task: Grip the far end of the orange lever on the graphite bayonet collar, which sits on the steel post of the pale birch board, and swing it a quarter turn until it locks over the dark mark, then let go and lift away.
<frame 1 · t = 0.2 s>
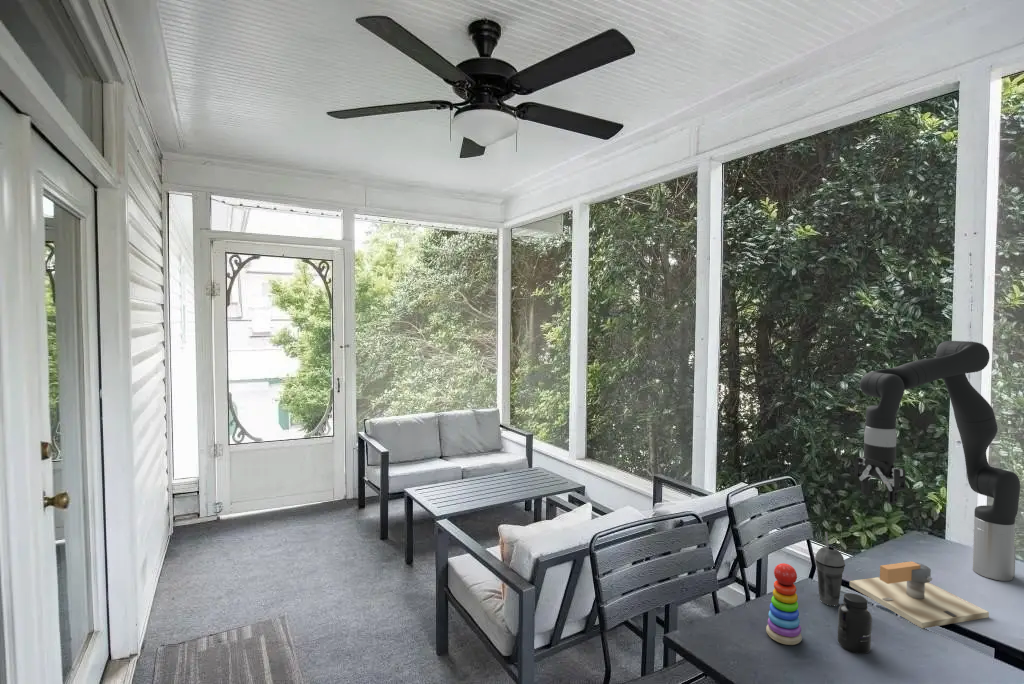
hand: (878, 498, 150), 28 cm above the table, fingers open, 8 cm apart
stacking toy: (783, 637, 131), on the table
supplement bottle: (853, 646, 127), on the table
orange lever handle: (904, 571, 146), point 9 cm above the table, hinge at 0.0°
post board: (915, 600, 147), on the table
beverage cup: (828, 602, 147), on the table
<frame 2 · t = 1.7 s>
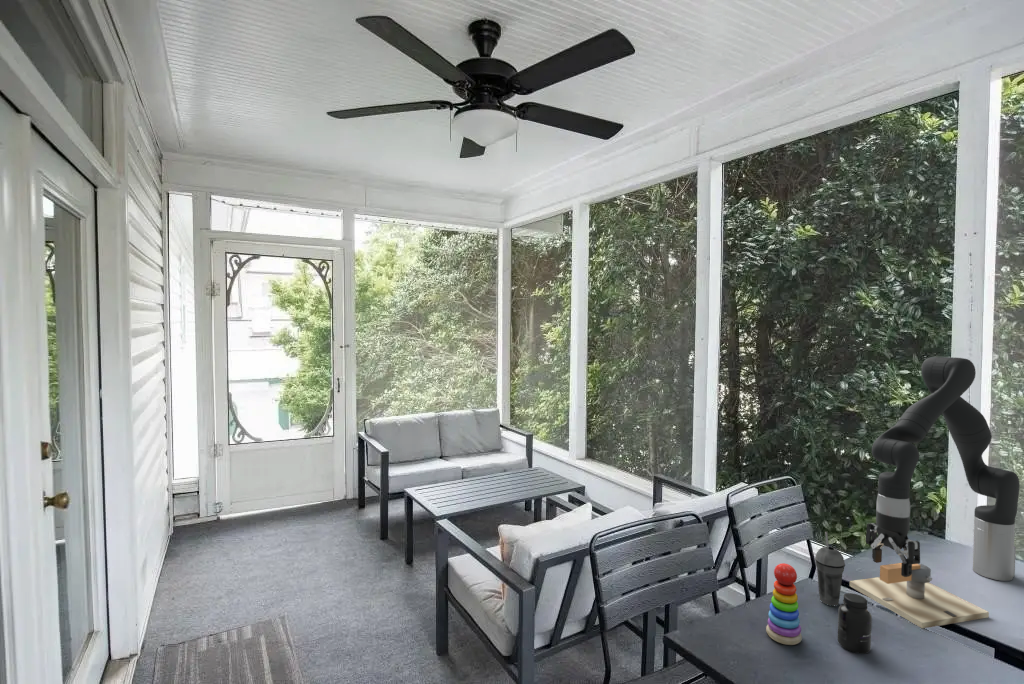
hand: (891, 568, 145), 10 cm above the table, fingers open, 8 cm apart
nothing on the table moved.
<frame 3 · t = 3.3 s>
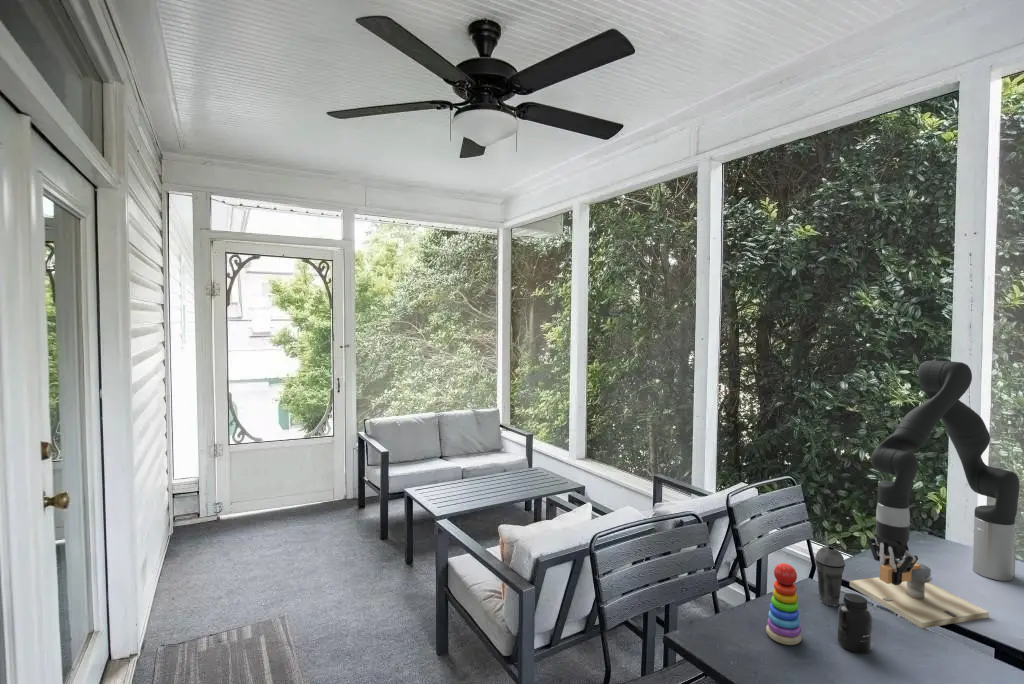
hand: (891, 581, 145), 7 cm above the table, fingers closed on orange lever handle, 2 cm apart
orange lever handle: (904, 571, 146), point 9 cm above the table, hinge at 0.0°, touching gripper
everything else where it was.
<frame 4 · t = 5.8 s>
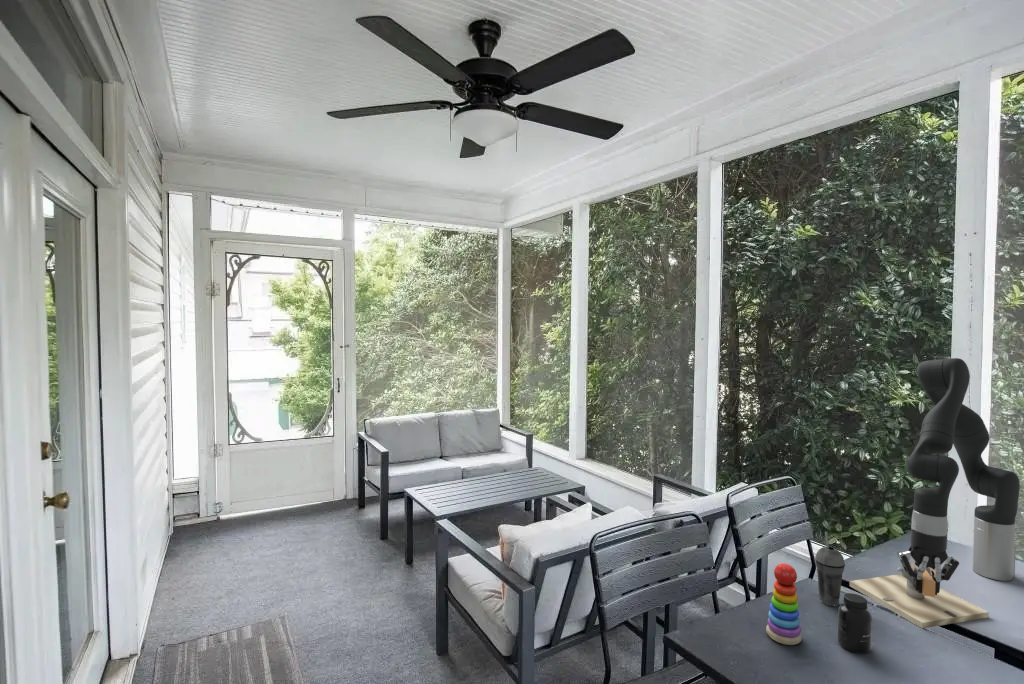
hand: (925, 592, 139), 7 cm above the table, fingers closed on orange lever handle, 3 cm apart
orange lever handle: (920, 576, 143), point 9 cm above the table, hinge at 54.7°, touching gripper
everything else where it was.
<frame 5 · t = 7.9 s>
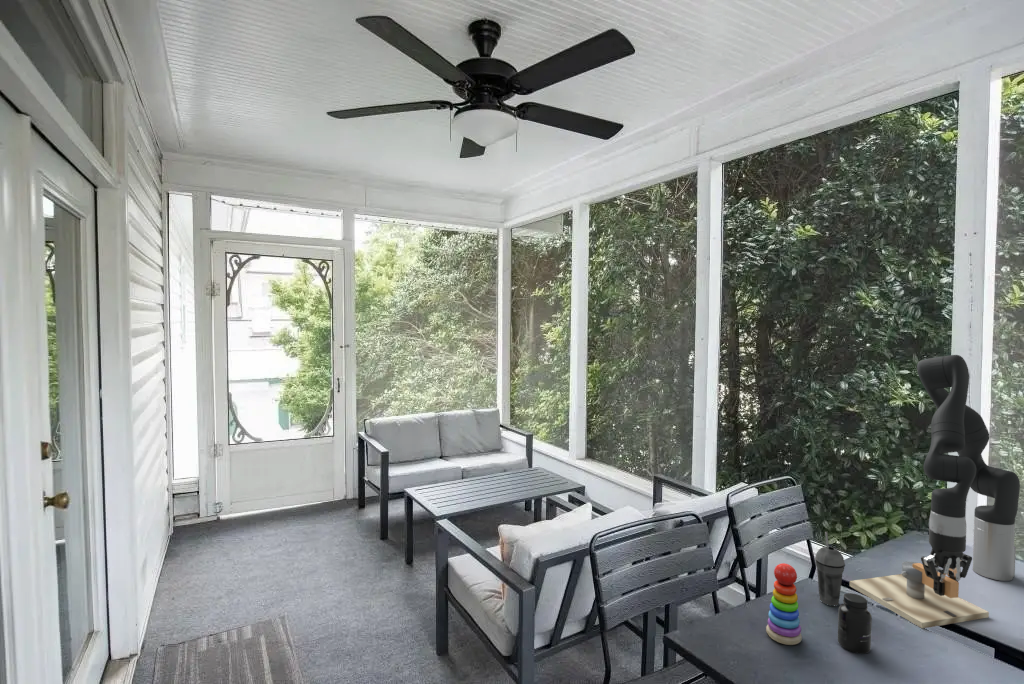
hand: (945, 593, 139), 7 cm above the table, fingers open, 3 cm apart
orange lever handle: (929, 577, 143), point 9 cm above the table, hinge at 86.2°
everything else where it was.
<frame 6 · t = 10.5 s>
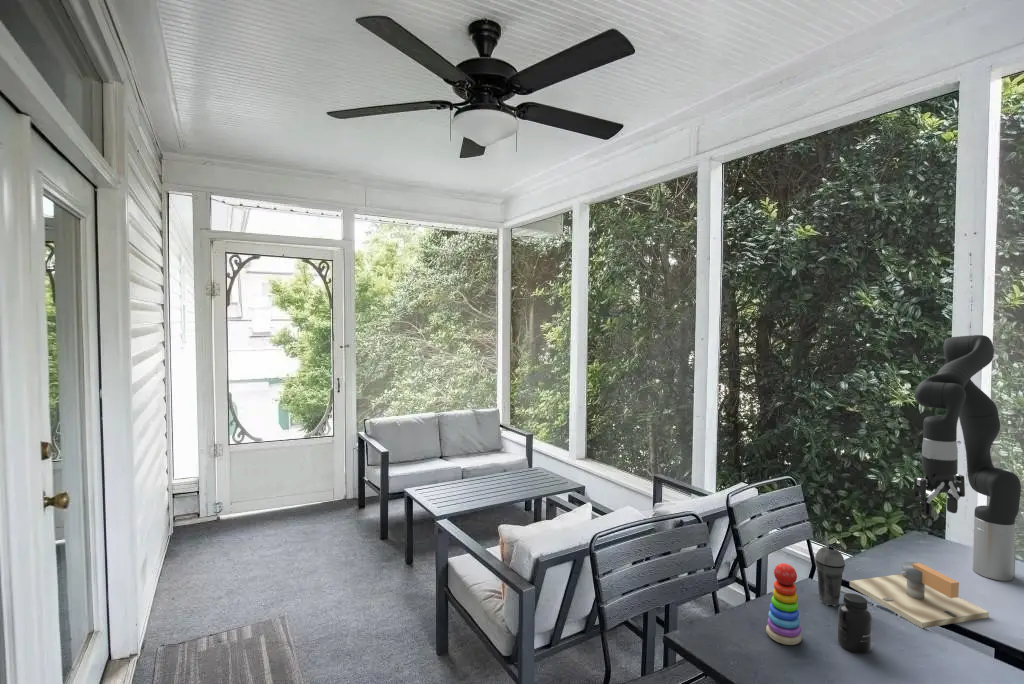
hand: (939, 513, 143), 26 cm above the table, fingers open, 8 cm apart
nothing on the table moved.
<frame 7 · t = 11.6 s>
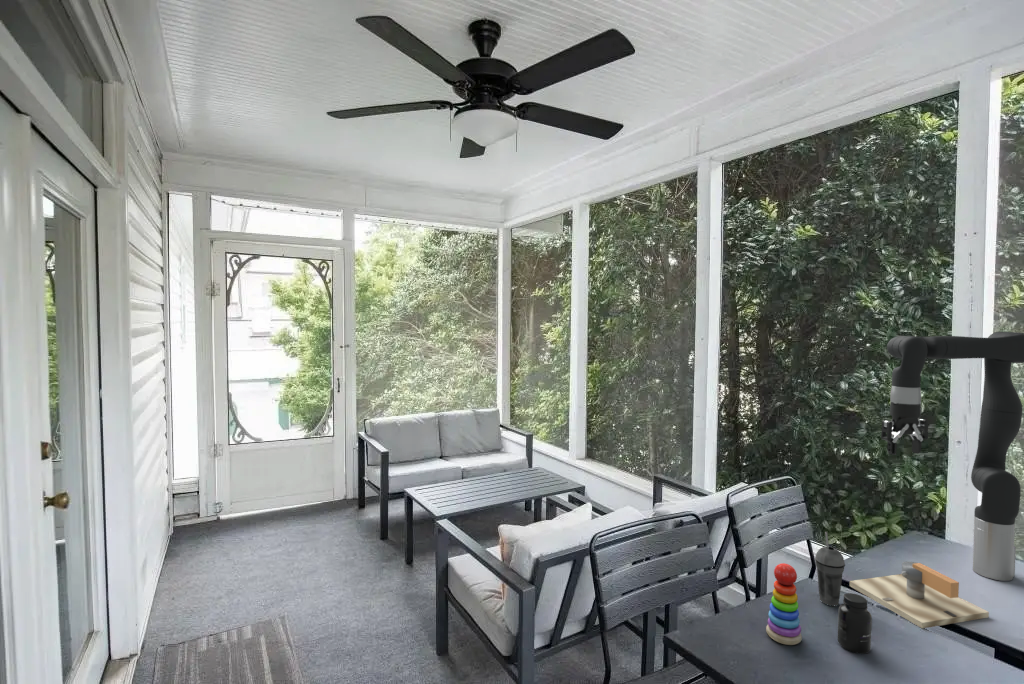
hand: (904, 453, 161), 38 cm above the table, fingers open, 8 cm apart
nothing on the table moved.
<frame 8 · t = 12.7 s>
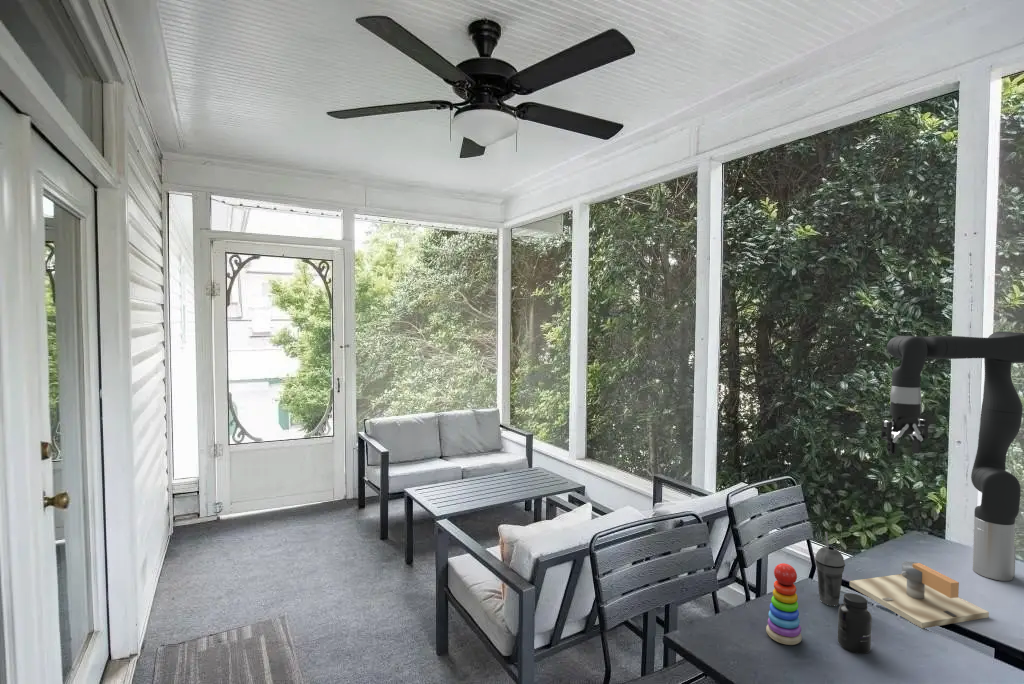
hand: (904, 453, 161), 38 cm above the table, fingers open, 8 cm apart
nothing on the table moved.
at the end: orange lever handle at +86° (first picture: +0°); the gripper is holding nothing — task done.
